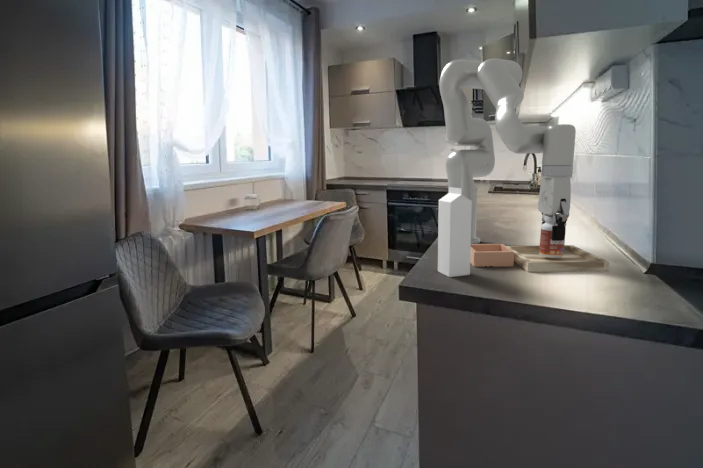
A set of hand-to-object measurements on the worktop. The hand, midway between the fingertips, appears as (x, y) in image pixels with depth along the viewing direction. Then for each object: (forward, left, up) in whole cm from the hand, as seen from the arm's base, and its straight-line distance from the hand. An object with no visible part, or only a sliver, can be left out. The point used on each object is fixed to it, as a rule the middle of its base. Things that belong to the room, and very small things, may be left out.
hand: (552, 237), depth 115 cm
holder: (-1, -17, -7) cm, 18 cm away
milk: (+11, -29, -7) cm, 31 cm away
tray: (0, 0, -7) cm, 7 cm away
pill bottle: (0, 0, -5) cm, 5 cm away
